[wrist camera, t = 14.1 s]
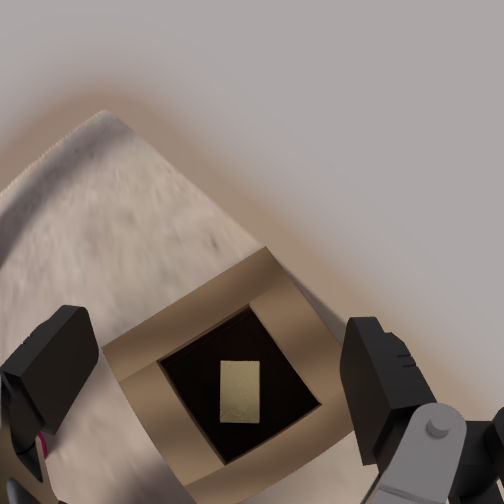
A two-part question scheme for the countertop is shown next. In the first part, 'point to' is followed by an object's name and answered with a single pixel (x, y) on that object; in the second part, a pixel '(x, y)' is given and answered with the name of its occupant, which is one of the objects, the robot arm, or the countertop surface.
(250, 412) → the beige rectangular block
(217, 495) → the wooden box
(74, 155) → the countertop surface
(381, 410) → the robot arm
